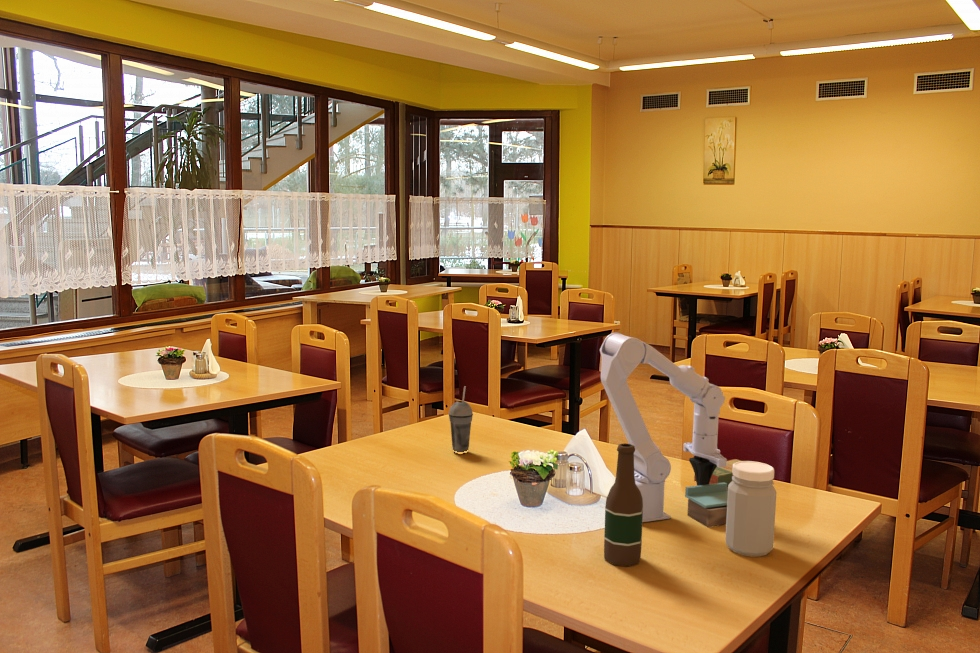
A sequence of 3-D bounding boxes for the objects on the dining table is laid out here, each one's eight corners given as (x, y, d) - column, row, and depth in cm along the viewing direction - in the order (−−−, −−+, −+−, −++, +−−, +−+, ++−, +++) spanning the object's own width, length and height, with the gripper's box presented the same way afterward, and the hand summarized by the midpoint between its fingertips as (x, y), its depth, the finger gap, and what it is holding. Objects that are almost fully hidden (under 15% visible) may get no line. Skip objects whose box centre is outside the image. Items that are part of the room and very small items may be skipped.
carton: (758, 481, 213) (759, 466, 212) (717, 491, 204) (718, 475, 204) (734, 472, 220) (735, 457, 219) (693, 482, 211) (694, 466, 211)
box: (707, 527, 178) (708, 510, 178) (687, 515, 186) (688, 498, 185) (748, 521, 182) (748, 505, 181) (726, 510, 189) (727, 494, 189)
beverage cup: (445, 449, 238) (446, 384, 235) (468, 448, 240) (469, 383, 237) (451, 456, 231) (452, 389, 228) (475, 454, 233) (476, 388, 230)
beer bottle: (615, 548, 166) (619, 437, 163) (648, 558, 161) (653, 444, 158) (595, 560, 160) (599, 445, 157) (629, 571, 155) (633, 452, 152)
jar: (733, 558, 162) (737, 473, 159) (718, 539, 171) (722, 459, 169) (780, 558, 162) (785, 473, 160) (763, 539, 172) (767, 459, 169)
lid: (705, 508, 179) (705, 498, 179) (685, 496, 186) (685, 487, 186) (745, 502, 183) (745, 492, 182) (724, 491, 190) (724, 482, 190)
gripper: (738, 439, 182) (735, 495, 184) (701, 424, 195) (698, 477, 197) (712, 441, 179) (710, 499, 181) (677, 426, 193) (674, 479, 195)
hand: (702, 487), depth 189 cm, fingers closed
